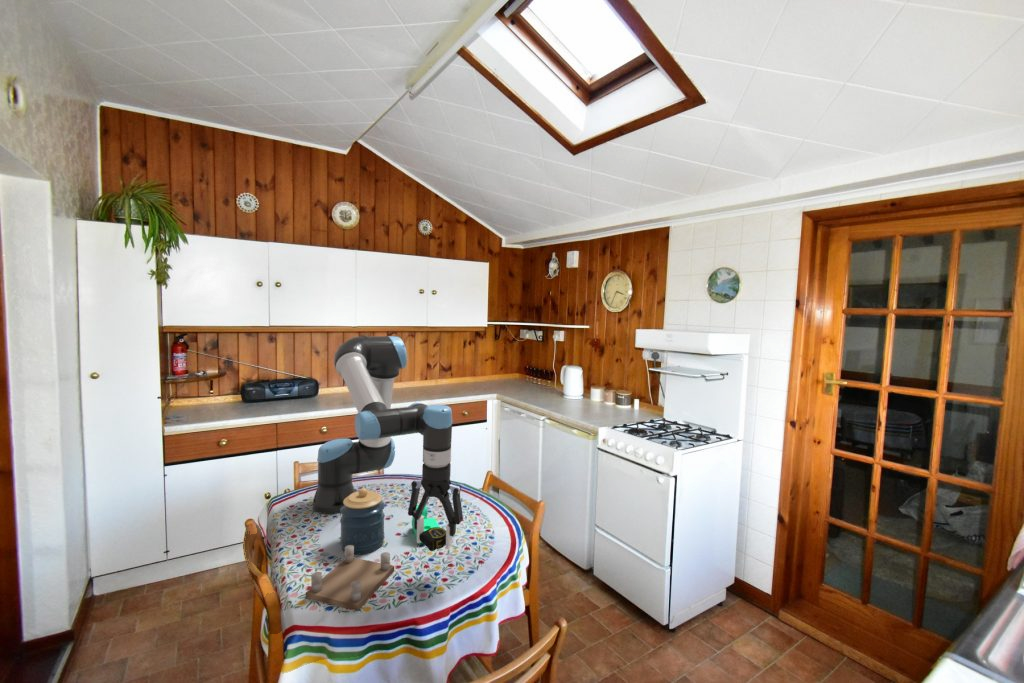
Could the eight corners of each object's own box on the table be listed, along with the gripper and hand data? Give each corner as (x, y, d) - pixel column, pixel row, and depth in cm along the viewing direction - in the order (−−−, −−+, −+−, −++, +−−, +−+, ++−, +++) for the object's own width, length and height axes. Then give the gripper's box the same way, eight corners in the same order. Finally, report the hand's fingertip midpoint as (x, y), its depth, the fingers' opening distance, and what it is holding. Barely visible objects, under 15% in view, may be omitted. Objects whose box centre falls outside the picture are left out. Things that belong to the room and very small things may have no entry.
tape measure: (418, 543, 121) (418, 530, 121) (440, 536, 125) (440, 523, 125) (429, 555, 116) (429, 542, 115) (452, 547, 120) (452, 534, 119)
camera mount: (443, 542, 139) (443, 510, 138) (419, 546, 136) (419, 514, 135) (434, 524, 150) (434, 495, 149) (411, 528, 147) (412, 498, 146)
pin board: (305, 598, 110) (305, 577, 110) (347, 561, 127) (347, 543, 126) (357, 611, 107) (357, 589, 106) (394, 571, 123) (394, 552, 123)
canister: (372, 529, 146) (372, 477, 144) (392, 544, 136) (392, 489, 135) (333, 542, 136) (333, 487, 135) (351, 560, 127) (351, 501, 126)
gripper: (395, 462, 118) (393, 543, 120) (467, 473, 113) (464, 558, 115) (408, 453, 125) (407, 529, 127) (477, 463, 120) (474, 543, 122)
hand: (434, 543), depth 121 cm, fingers closed on tape measure, 8 cm apart
